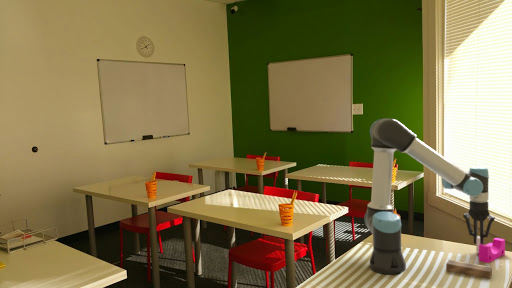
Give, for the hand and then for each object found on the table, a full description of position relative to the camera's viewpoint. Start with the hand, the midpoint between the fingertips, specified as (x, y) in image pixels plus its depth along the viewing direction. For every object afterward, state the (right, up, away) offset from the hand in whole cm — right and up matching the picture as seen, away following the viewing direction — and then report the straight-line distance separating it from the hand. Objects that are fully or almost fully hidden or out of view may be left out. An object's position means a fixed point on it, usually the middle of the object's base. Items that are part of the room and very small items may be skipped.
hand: (478, 250), depth 185 cm
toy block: (+2, -2, -5) cm, 6 cm away
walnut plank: (-15, -4, -20) cm, 25 cm away
